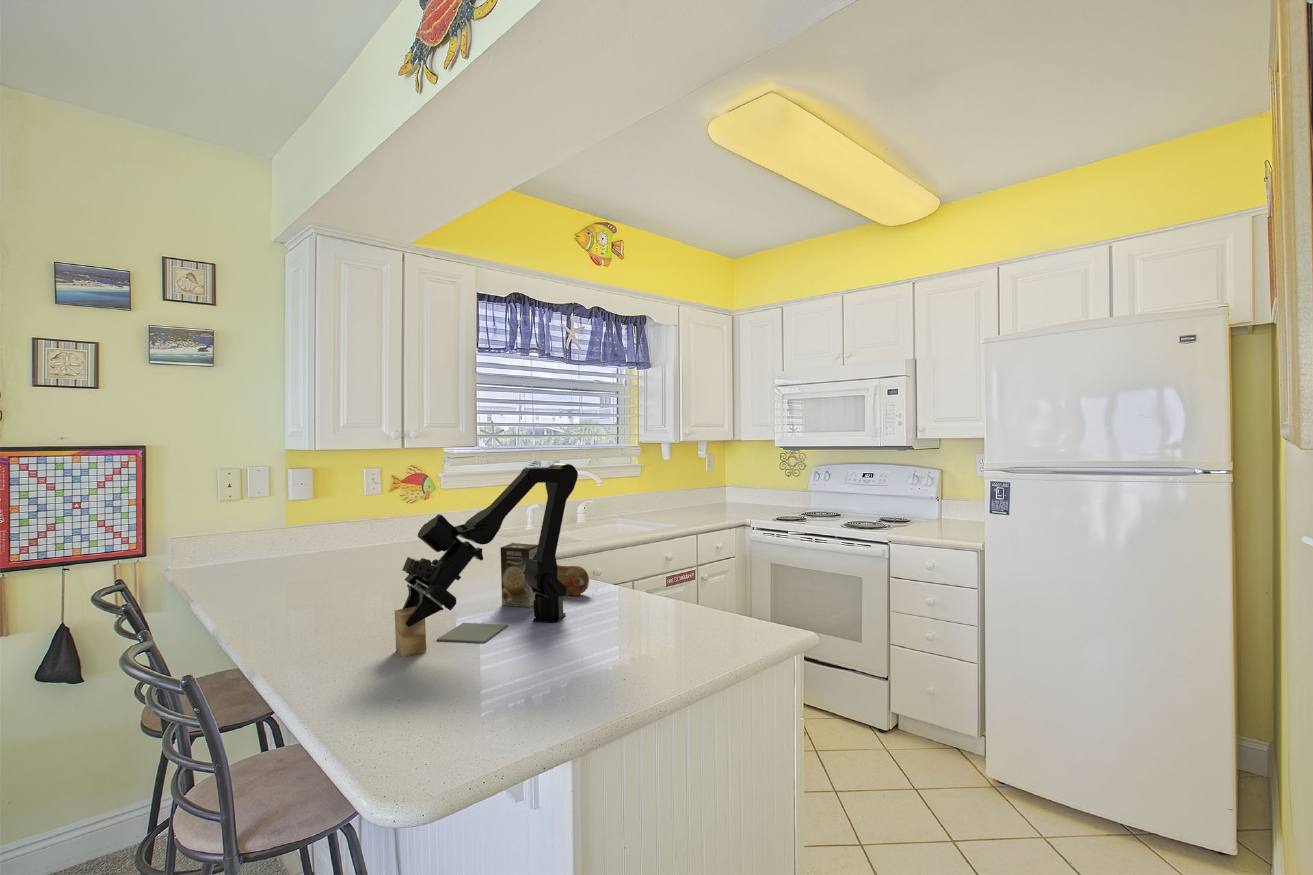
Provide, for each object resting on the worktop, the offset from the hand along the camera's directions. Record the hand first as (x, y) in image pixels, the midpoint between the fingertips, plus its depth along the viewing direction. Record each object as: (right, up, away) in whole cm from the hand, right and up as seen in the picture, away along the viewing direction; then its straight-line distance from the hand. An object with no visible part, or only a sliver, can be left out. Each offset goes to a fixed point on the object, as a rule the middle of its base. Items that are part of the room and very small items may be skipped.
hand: (403, 622), depth 139 cm
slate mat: (+12, -6, +12) cm, 18 cm away
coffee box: (+18, -5, +36) cm, 41 cm away
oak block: (+1, -7, +1) cm, 7 cm away
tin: (+29, -5, +45) cm, 54 cm away
